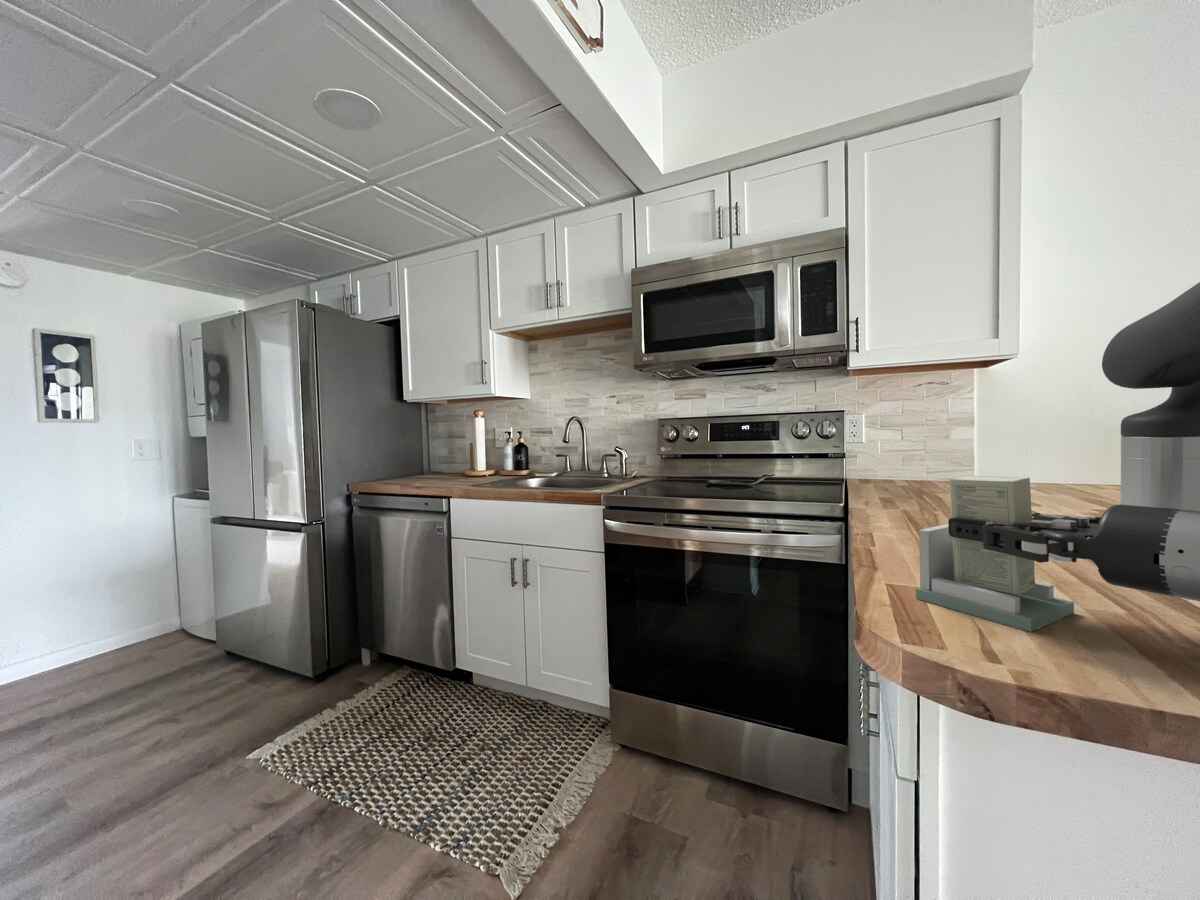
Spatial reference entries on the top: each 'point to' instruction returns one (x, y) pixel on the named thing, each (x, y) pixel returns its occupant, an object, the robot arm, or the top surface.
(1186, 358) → the robot arm
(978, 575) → the skincare box
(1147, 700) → the top surface
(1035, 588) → the deck socket
